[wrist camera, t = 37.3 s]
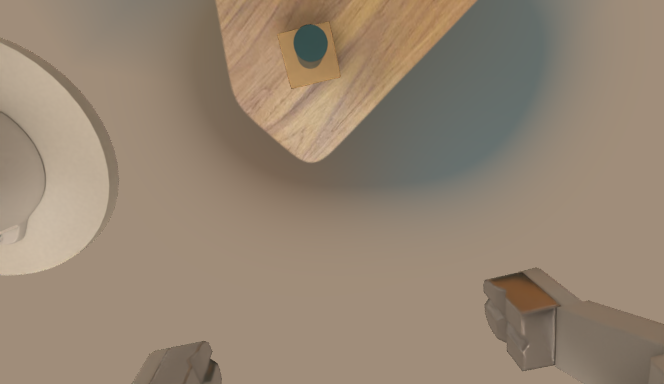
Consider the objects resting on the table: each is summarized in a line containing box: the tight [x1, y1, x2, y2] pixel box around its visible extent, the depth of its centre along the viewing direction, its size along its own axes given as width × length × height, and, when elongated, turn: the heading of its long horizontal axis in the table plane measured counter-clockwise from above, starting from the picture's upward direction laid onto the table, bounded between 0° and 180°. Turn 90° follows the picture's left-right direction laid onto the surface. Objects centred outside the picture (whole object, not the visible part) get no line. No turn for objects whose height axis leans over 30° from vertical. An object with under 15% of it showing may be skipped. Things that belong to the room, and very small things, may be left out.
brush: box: [277, 21, 341, 89], centre depth 29 cm, size 5×5×14 cm
